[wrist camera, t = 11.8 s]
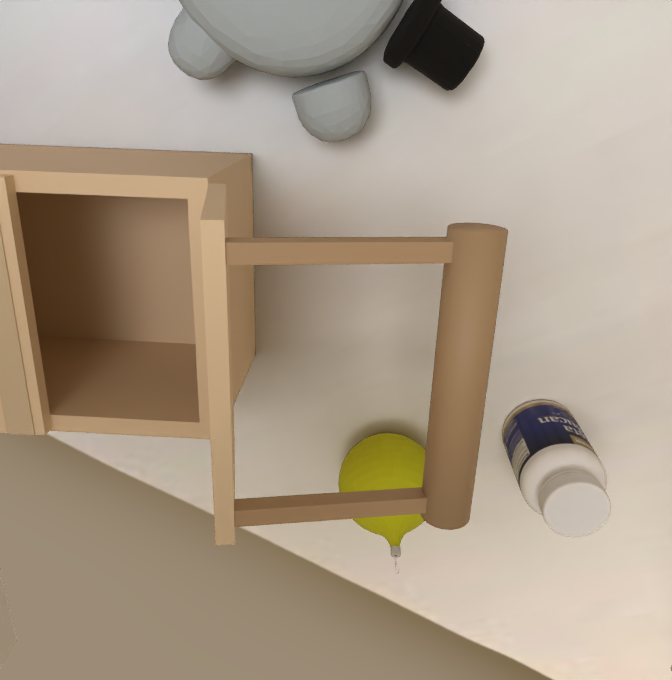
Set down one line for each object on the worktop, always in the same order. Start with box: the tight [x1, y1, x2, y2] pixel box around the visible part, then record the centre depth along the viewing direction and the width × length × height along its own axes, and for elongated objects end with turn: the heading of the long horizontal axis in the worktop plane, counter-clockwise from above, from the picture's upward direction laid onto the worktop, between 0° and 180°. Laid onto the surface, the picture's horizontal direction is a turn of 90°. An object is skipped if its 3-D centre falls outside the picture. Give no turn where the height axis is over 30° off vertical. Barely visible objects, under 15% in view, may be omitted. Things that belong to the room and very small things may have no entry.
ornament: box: [339, 433, 426, 573], centre depth 44 cm, size 7×7×10 cm
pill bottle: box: [502, 400, 611, 537], centre depth 42 cm, size 5×5×10 cm
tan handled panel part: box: [200, 183, 508, 546], centre depth 28 cm, size 9×14×11 cm
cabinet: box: [0, 144, 256, 439], centre depth 37 cm, size 18×14×13 cm
